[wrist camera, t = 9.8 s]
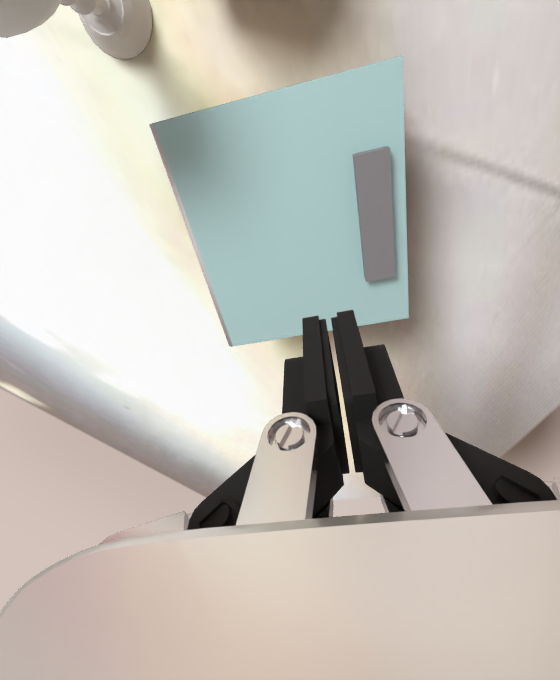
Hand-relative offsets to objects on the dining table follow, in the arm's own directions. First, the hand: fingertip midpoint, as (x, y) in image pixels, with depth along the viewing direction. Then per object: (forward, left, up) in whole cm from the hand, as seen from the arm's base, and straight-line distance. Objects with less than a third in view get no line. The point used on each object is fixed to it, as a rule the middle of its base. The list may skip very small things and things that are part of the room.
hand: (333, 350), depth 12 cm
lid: (+1, 0, -15) cm, 15 cm away
